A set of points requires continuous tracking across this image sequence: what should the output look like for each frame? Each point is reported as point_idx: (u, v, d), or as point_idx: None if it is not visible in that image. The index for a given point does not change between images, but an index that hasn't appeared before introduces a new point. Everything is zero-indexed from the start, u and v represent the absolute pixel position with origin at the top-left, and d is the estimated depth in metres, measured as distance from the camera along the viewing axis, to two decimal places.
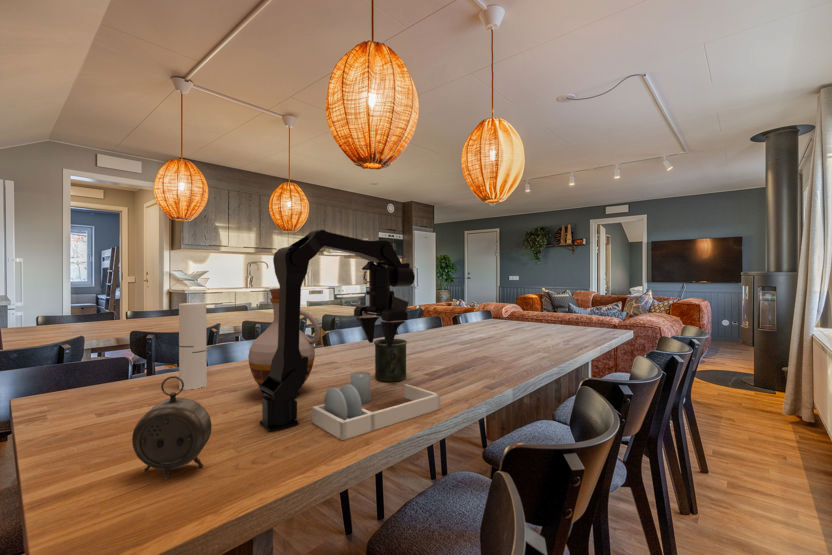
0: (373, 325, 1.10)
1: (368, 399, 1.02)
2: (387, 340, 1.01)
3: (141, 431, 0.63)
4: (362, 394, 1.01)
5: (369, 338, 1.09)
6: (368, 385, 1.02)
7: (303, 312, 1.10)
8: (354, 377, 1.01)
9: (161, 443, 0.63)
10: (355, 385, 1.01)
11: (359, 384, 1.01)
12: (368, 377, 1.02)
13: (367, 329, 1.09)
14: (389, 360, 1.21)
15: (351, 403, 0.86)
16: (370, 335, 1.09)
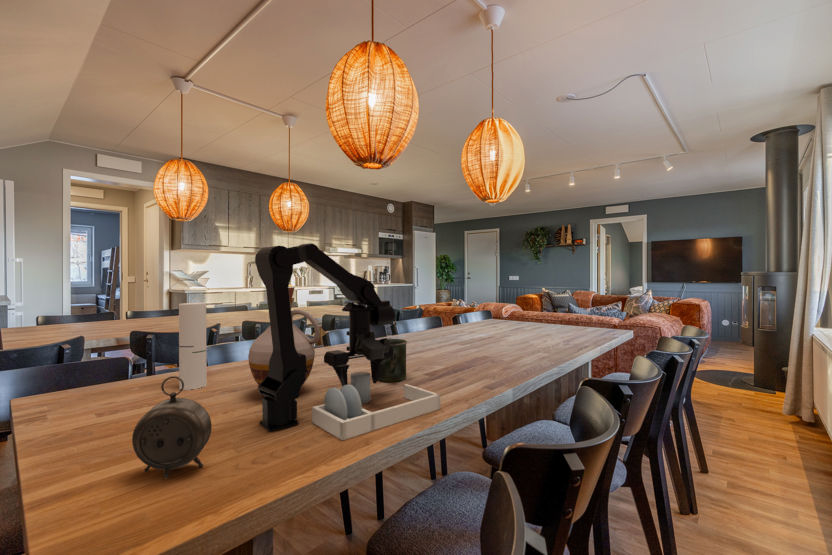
0: (377, 366, 1.06)
1: (368, 399, 1.02)
2: (341, 382, 1.01)
3: (141, 431, 0.63)
4: (362, 394, 1.01)
5: (372, 378, 1.07)
6: (368, 385, 1.02)
7: (303, 312, 1.10)
8: (354, 377, 1.01)
9: (161, 443, 0.63)
10: (355, 385, 1.01)
11: (359, 384, 1.01)
12: (368, 377, 1.02)
13: (373, 368, 1.07)
14: (389, 360, 1.21)
15: (351, 403, 0.86)
16: (373, 375, 1.07)
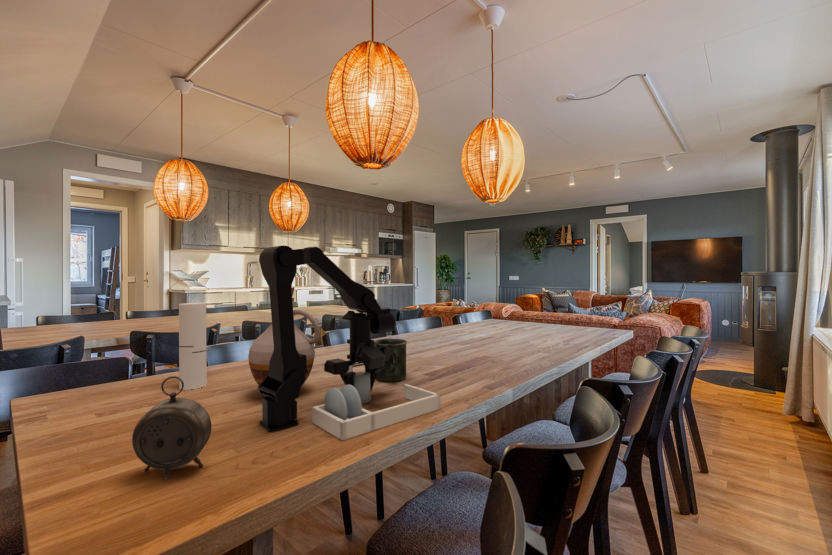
0: (371, 375, 1.05)
1: (368, 399, 1.02)
2: None
3: (141, 431, 0.63)
4: (362, 394, 1.01)
5: None
6: (368, 385, 1.02)
7: (303, 312, 1.10)
8: (354, 377, 1.01)
9: (161, 443, 0.63)
10: (355, 385, 1.01)
11: (359, 384, 1.01)
12: (368, 377, 1.02)
13: None
14: None
15: (351, 403, 0.86)
16: None
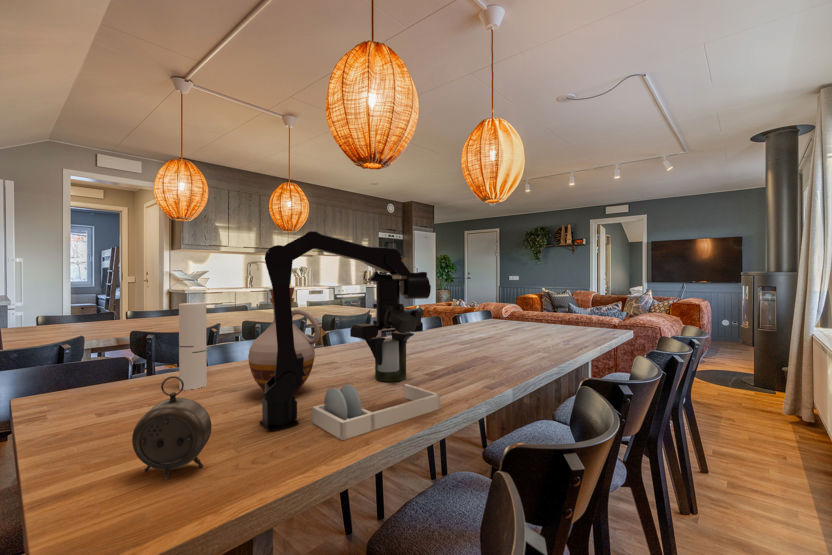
0: (400, 343, 0.97)
1: (397, 368, 0.94)
2: (374, 356, 0.94)
3: (141, 431, 0.63)
4: (391, 362, 0.93)
5: None
6: (397, 352, 0.94)
7: (303, 312, 1.10)
8: (382, 343, 0.93)
9: (161, 443, 0.63)
10: (383, 352, 0.93)
11: (388, 351, 0.93)
12: (397, 344, 0.94)
13: None
14: None
15: (351, 403, 0.86)
16: None
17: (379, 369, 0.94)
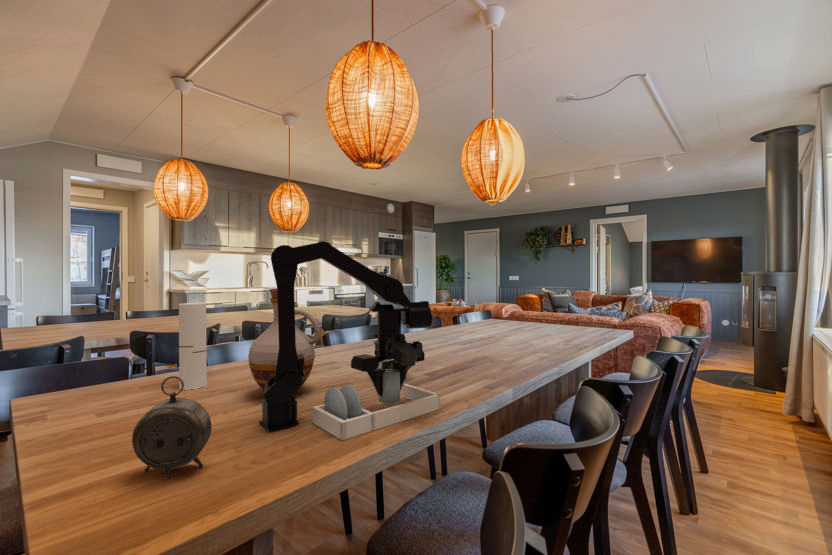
0: (401, 373, 0.96)
1: (398, 398, 0.94)
2: (375, 387, 0.93)
3: (141, 431, 0.63)
4: (392, 393, 0.93)
5: None
6: (398, 383, 0.94)
7: (303, 312, 1.10)
8: (383, 374, 0.93)
9: (161, 443, 0.63)
10: (384, 383, 0.93)
11: (389, 382, 0.92)
12: (398, 374, 0.94)
13: None
14: None
15: (351, 403, 0.86)
16: None
17: (380, 400, 0.94)
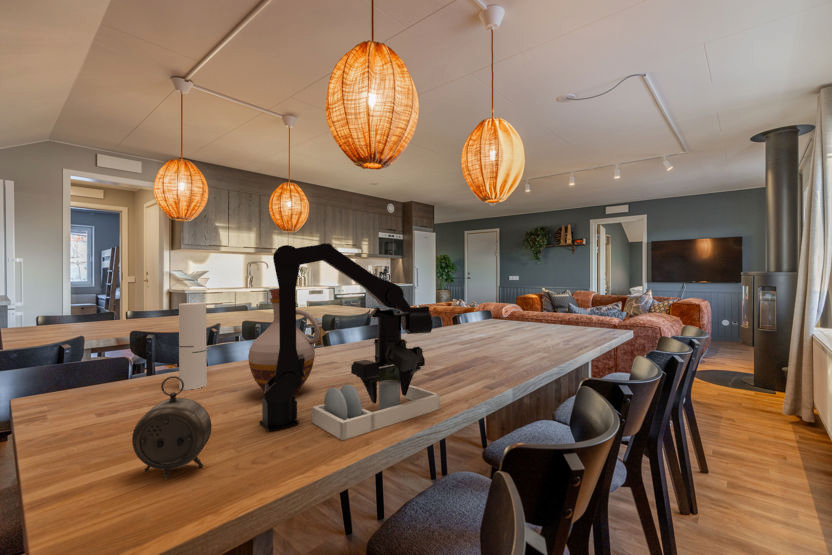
0: (407, 377, 0.98)
1: None
2: (369, 394, 0.92)
3: (141, 431, 0.63)
4: (392, 405, 0.93)
5: (402, 389, 0.98)
6: (398, 395, 0.94)
7: (303, 312, 1.10)
8: (383, 386, 0.93)
9: (161, 443, 0.63)
10: (384, 395, 0.93)
11: (389, 394, 0.92)
12: (398, 386, 0.94)
13: (402, 379, 0.99)
14: None
15: (351, 403, 0.86)
16: (403, 387, 0.98)
17: None
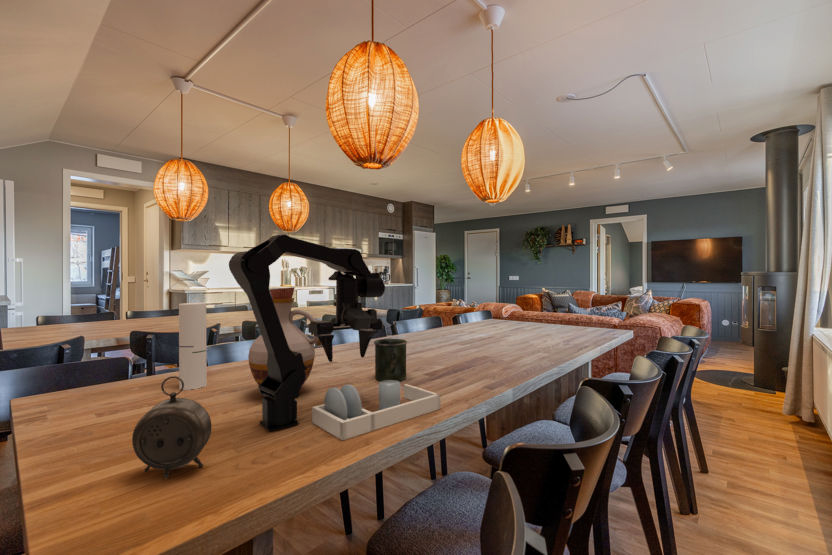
0: (365, 339, 1.02)
1: None
2: (326, 353, 0.97)
3: (141, 431, 0.63)
4: (392, 405, 0.93)
5: (360, 352, 1.03)
6: (398, 395, 0.94)
7: (303, 312, 1.10)
8: (383, 386, 0.93)
9: (161, 443, 0.63)
10: (384, 395, 0.93)
11: (389, 394, 0.92)
12: (398, 386, 0.94)
13: (361, 342, 1.03)
14: (389, 360, 1.21)
15: (351, 403, 0.86)
16: (361, 349, 1.03)
17: None
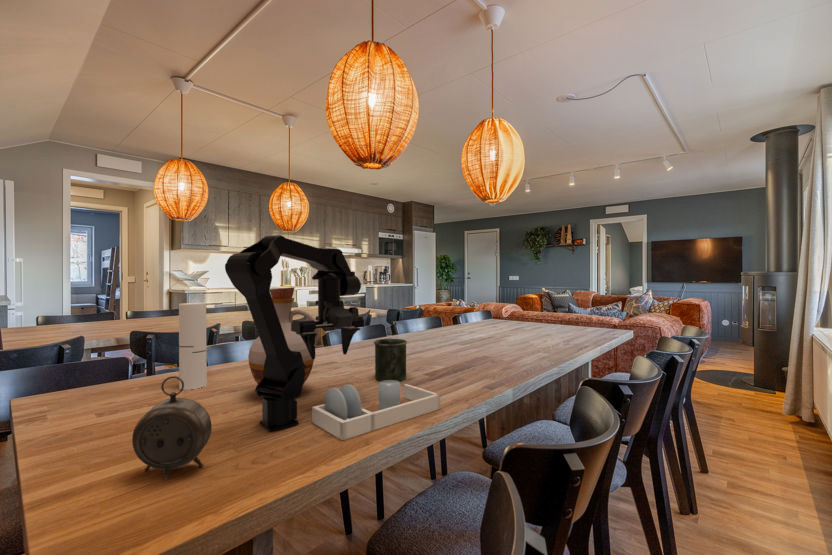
0: (347, 337, 1.04)
1: None
2: (309, 351, 0.99)
3: (141, 431, 0.63)
4: (392, 405, 0.93)
5: (343, 349, 1.05)
6: (398, 395, 0.94)
7: (303, 312, 1.10)
8: (383, 386, 0.93)
9: (161, 443, 0.63)
10: (384, 395, 0.93)
11: (389, 394, 0.92)
12: (398, 386, 0.94)
13: (343, 339, 1.06)
14: (389, 360, 1.21)
15: (351, 403, 0.86)
16: (343, 346, 1.05)
17: None
